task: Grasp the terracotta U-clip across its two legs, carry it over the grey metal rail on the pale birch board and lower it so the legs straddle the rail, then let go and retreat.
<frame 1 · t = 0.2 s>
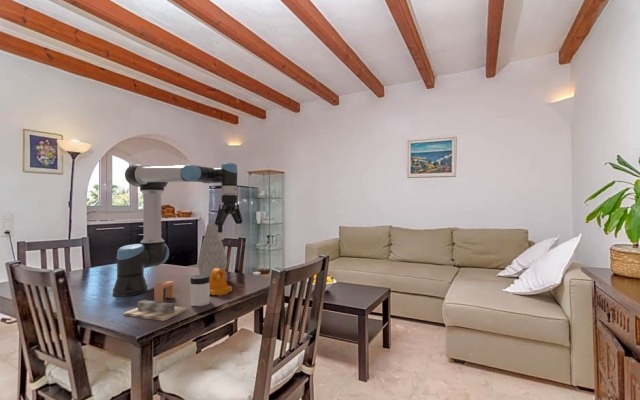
hand: (229, 237, 163), 28 cm above the table, fingers open, 13 cm apart
vase: (212, 281, 188), on the table
clip: (164, 299, 154), on the table
jar: (200, 303, 147), on the table
bracket: (219, 293, 164), on the table
rail board: (156, 312, 135), on the table
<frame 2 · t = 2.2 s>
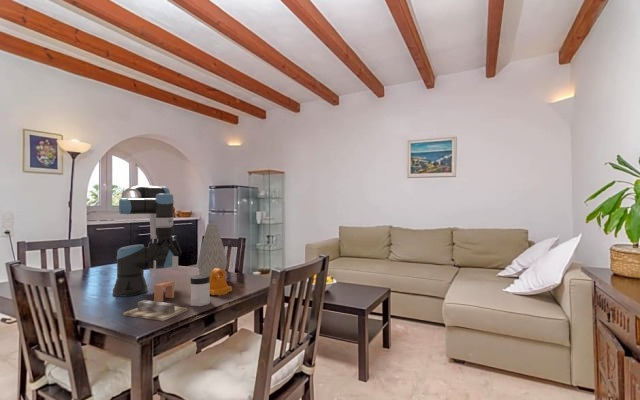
hand: (164, 272, 154), 12 cm above the table, fingers open, 13 cm apart
nothing on the table moved.
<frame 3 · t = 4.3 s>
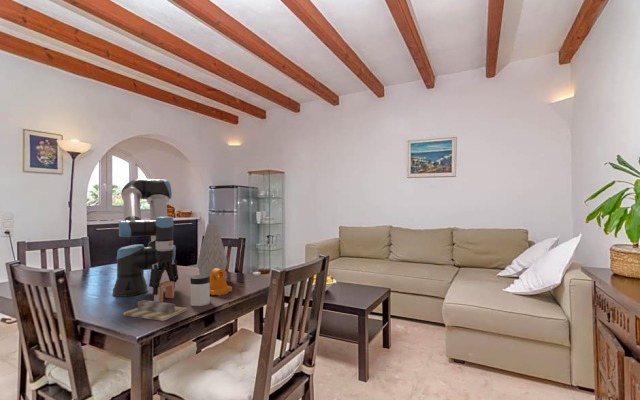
hand: (164, 298, 154), 0 cm above the table, fingers closed on clip, 8 cm apart
clip: (164, 299, 154), on the table, touching gripper
everything else where it was.
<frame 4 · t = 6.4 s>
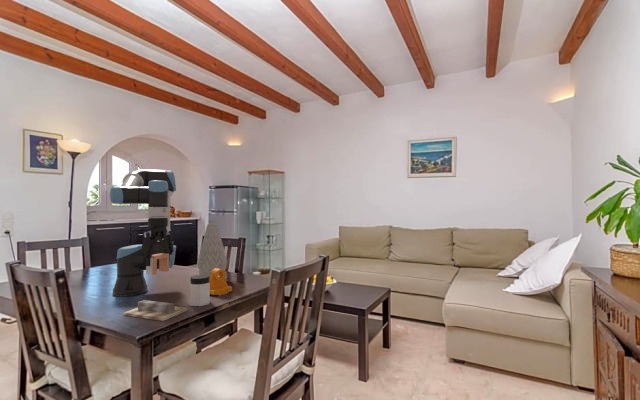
hand: (157, 272, 138), 16 cm above the table, fingers closed on clip, 8 cm apart
clip: (158, 272, 138), point 16 cm above the table, touching gripper
everything else where it was.
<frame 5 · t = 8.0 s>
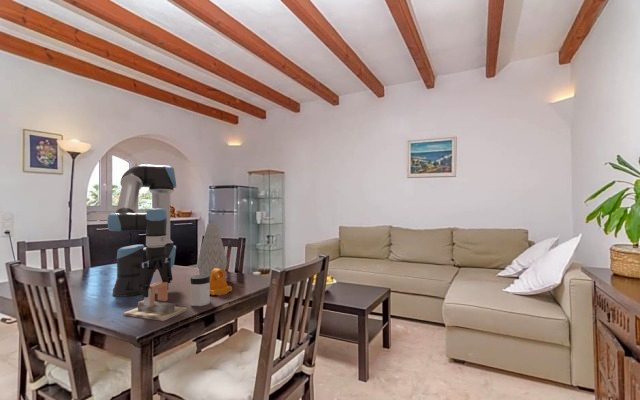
hand: (156, 301, 135), 4 cm above the table, fingers closed on clip, 8 cm apart
clip: (156, 302, 135), point 4 cm above the table, touching gripper
everything else where it was.
when the fingers open (3 cm above the table, at t = 9.0 s): clip drops 2 cm, resting on rail board.
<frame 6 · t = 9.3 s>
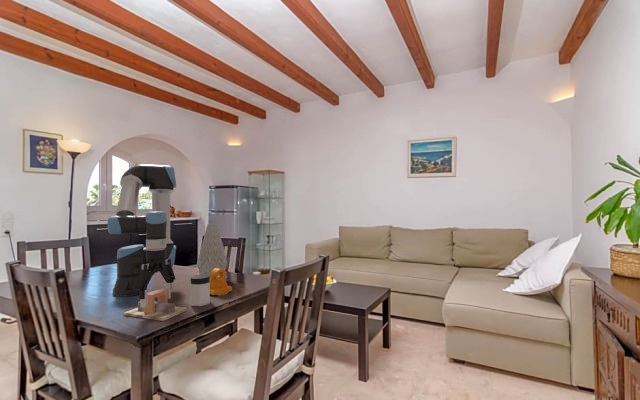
hand: (156, 302, 135), 4 cm above the table, fingers open, 11 cm apart
clip: (156, 310, 135), point 1 cm above the table, touching rail board
everything else where it was.
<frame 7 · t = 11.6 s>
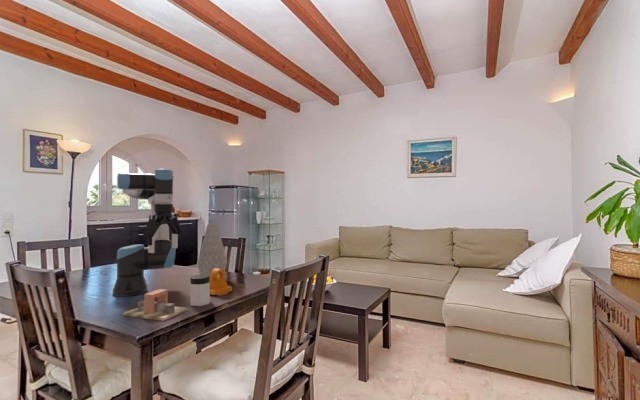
hand: (163, 250, 150), 23 cm above the table, fingers open, 13 cm apart
nothing on the table moved.
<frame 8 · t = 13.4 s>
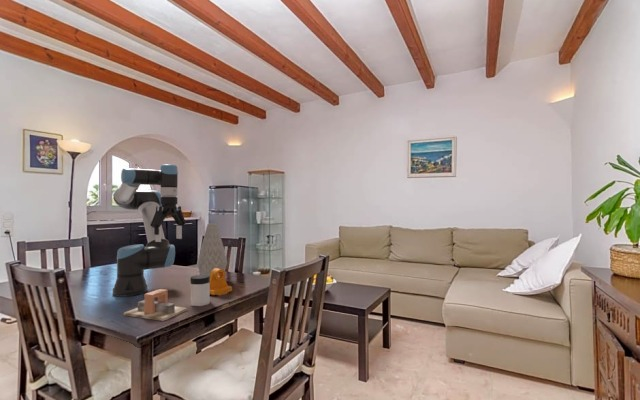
hand: (168, 240, 161), 27 cm above the table, fingers open, 13 cm apart
nothing on the table moved.
at the end: clip inside the target area on the rail board (0.0 cm from its centre), point 1.0 cm above the rail board's base; clip tilted 0°; the gripper is holding nothing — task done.
